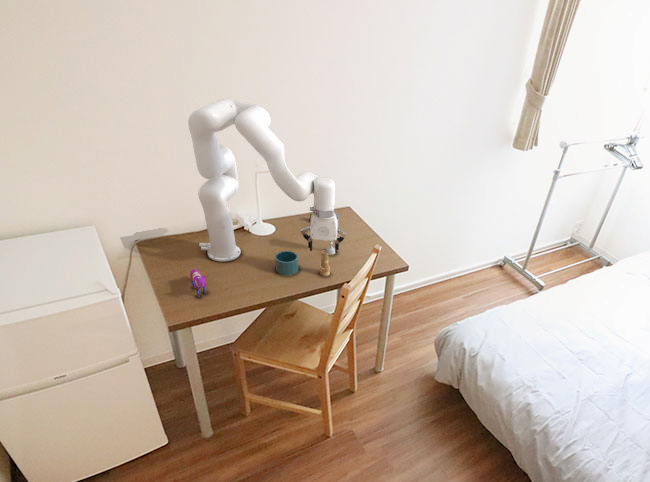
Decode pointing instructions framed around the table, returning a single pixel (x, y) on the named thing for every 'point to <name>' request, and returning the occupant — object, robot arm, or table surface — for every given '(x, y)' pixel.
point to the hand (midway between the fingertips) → (323, 250)
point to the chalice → (331, 249)
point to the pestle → (324, 264)
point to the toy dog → (197, 280)
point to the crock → (286, 262)
